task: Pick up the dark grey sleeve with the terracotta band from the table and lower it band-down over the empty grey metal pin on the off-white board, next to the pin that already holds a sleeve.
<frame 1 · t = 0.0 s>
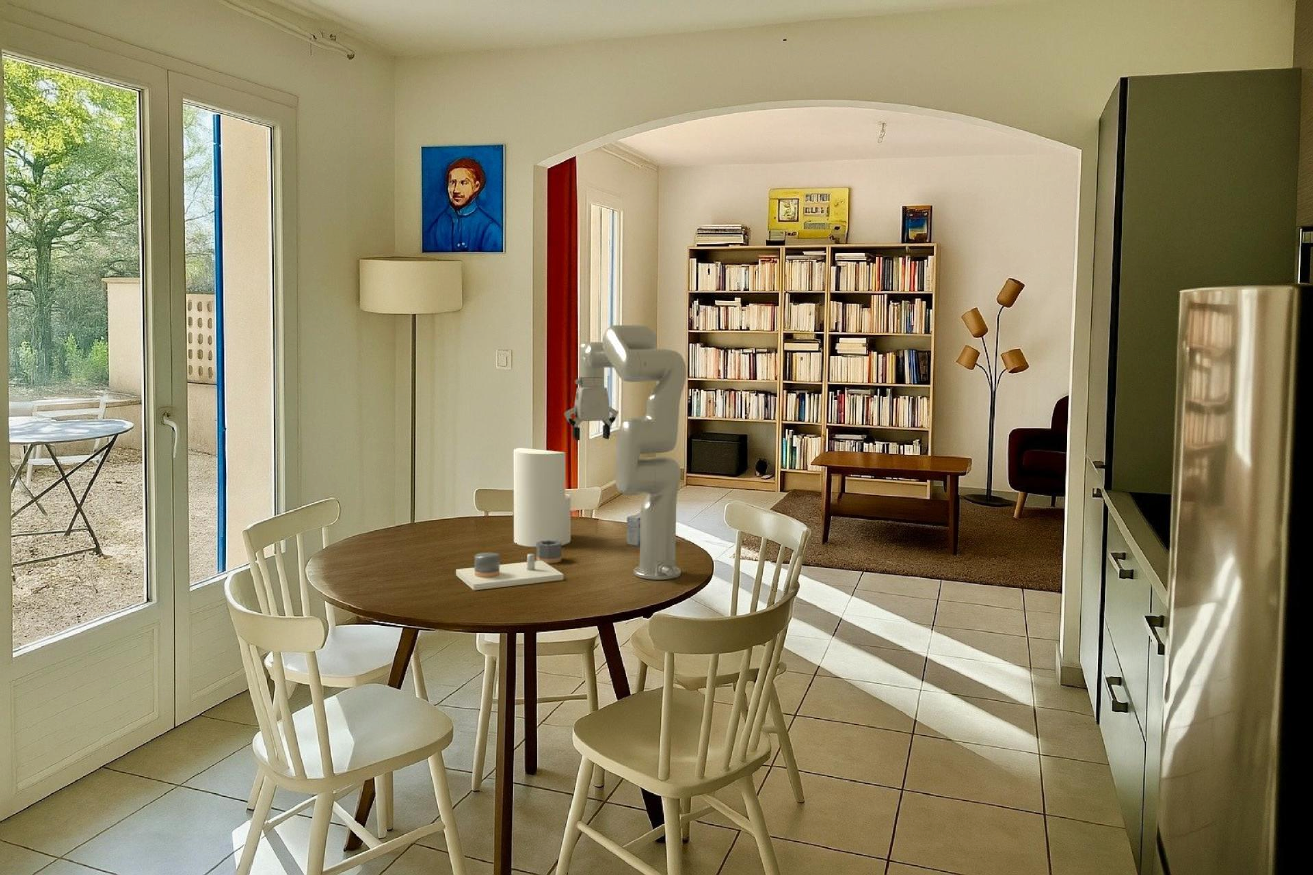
hand: (591, 439, 299), 31 cm above the table, tool pointing down, fingers open, 9 cm apart
pin board: (509, 577, 258), on the table
cylinder: (542, 541, 301), on the table
sleeve: (548, 560, 277), on the table
medicine box: (640, 543, 300), on the table
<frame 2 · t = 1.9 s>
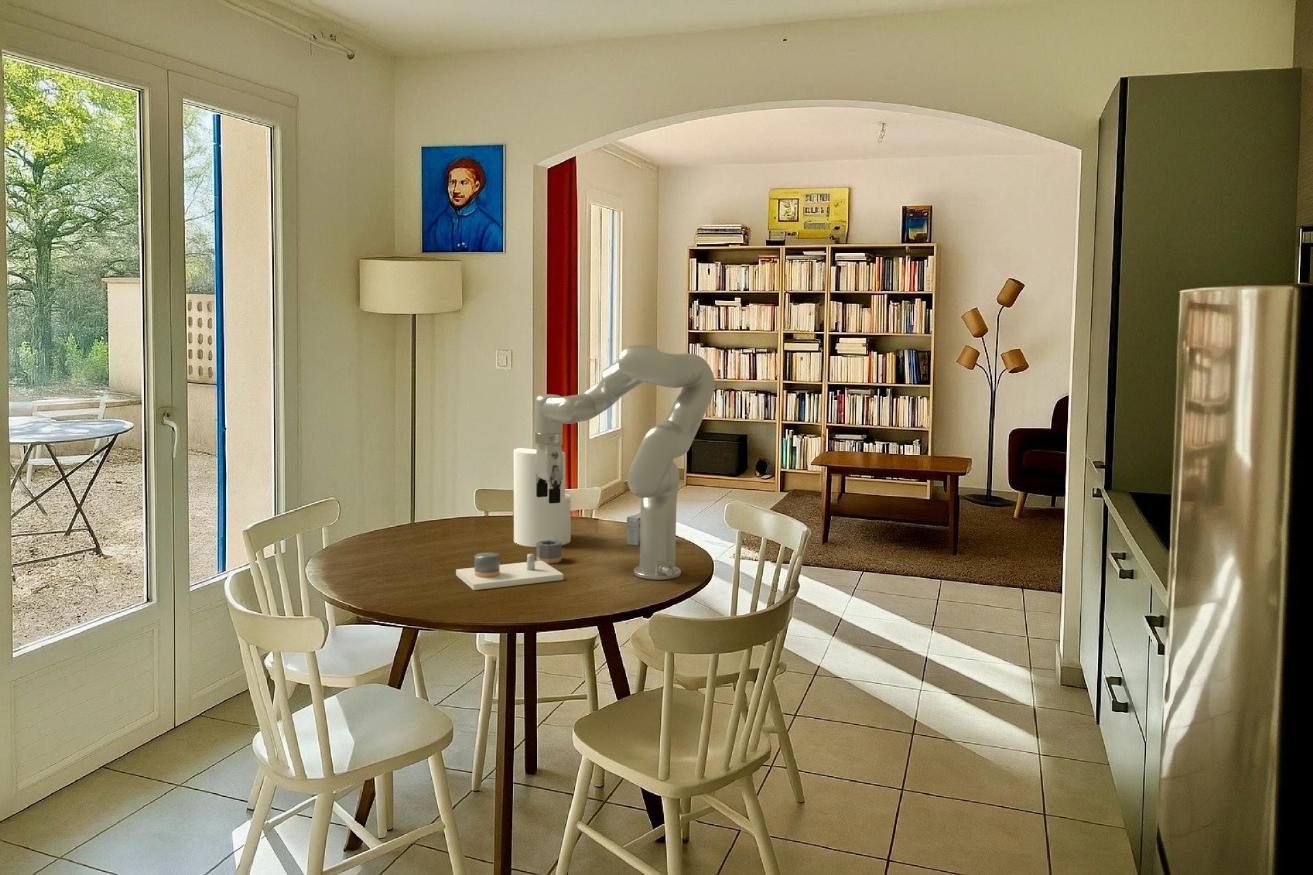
hand: (548, 499, 275), 17 cm above the table, tool pointing down, fingers open, 9 cm apart
nothing on the table moved.
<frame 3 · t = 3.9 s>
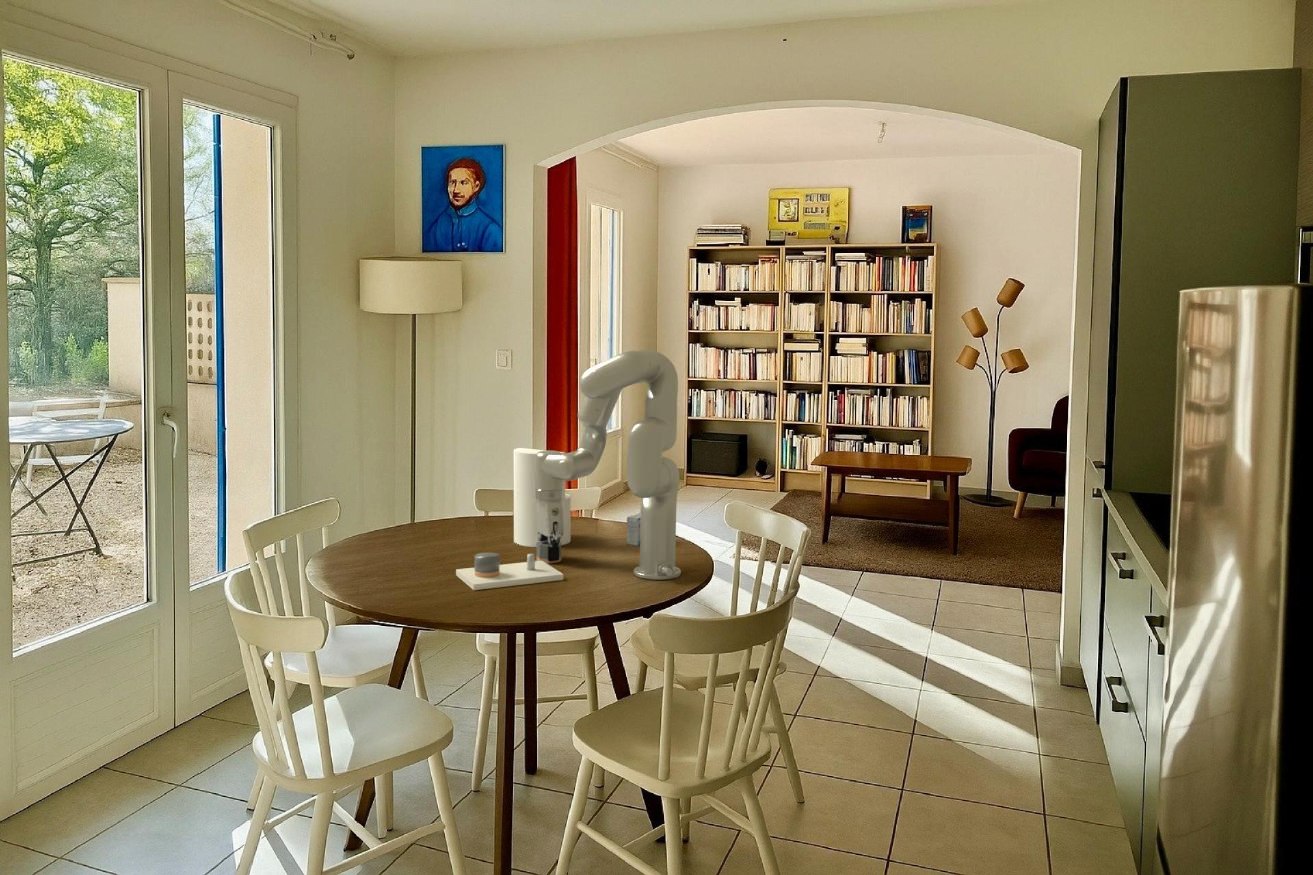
hand: (548, 557, 277), 1 cm above the table, tool pointing down, fingers closed on sleeve, 6 cm apart
sleeve: (548, 560, 277), on the table, touching gripper
everything else where it was.
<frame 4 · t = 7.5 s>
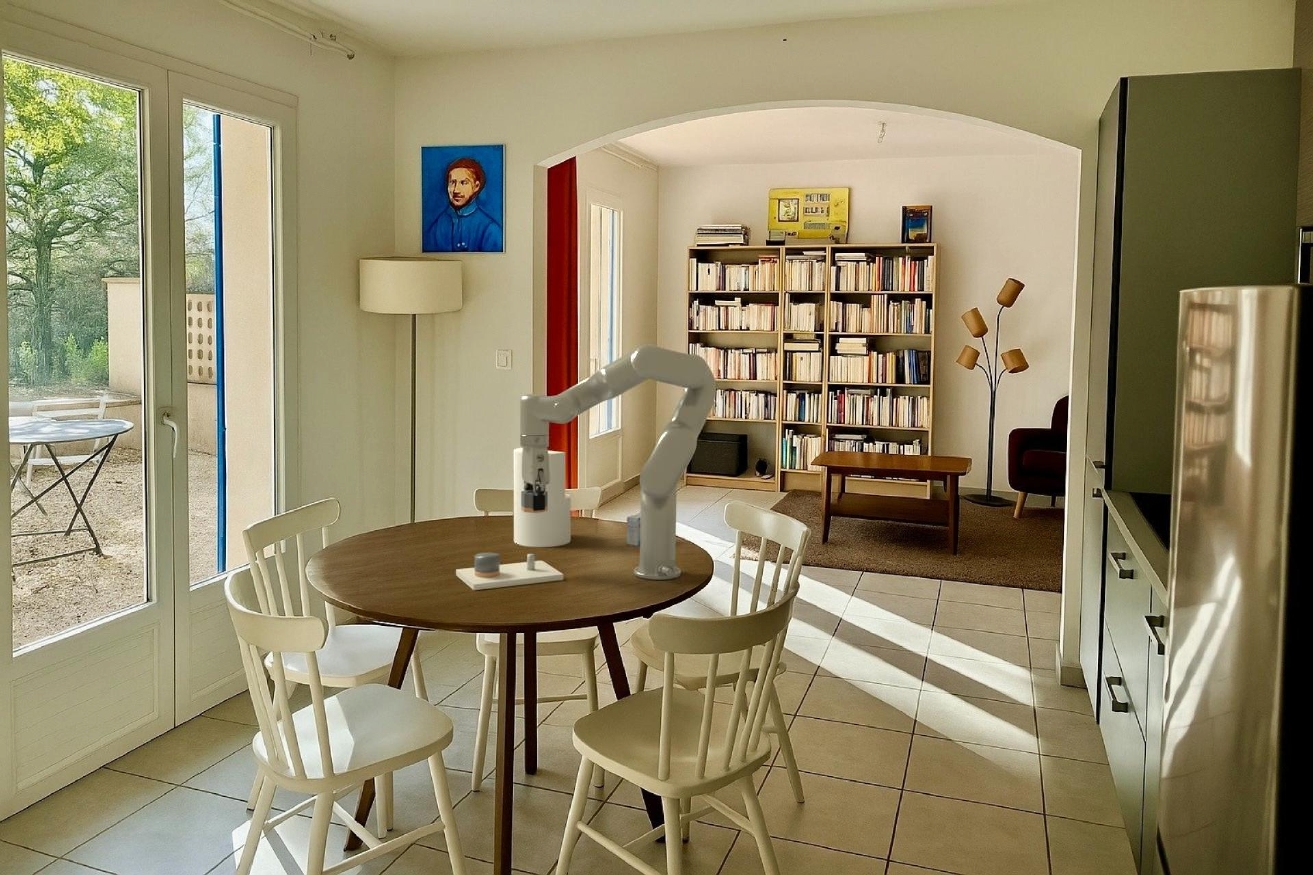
hand: (534, 507, 262), 18 cm above the table, tool pointing down, fingers closed on sleeve, 6 cm apart
sleeve: (534, 510, 262), point 17 cm above the table, touching gripper
everything else where it was.
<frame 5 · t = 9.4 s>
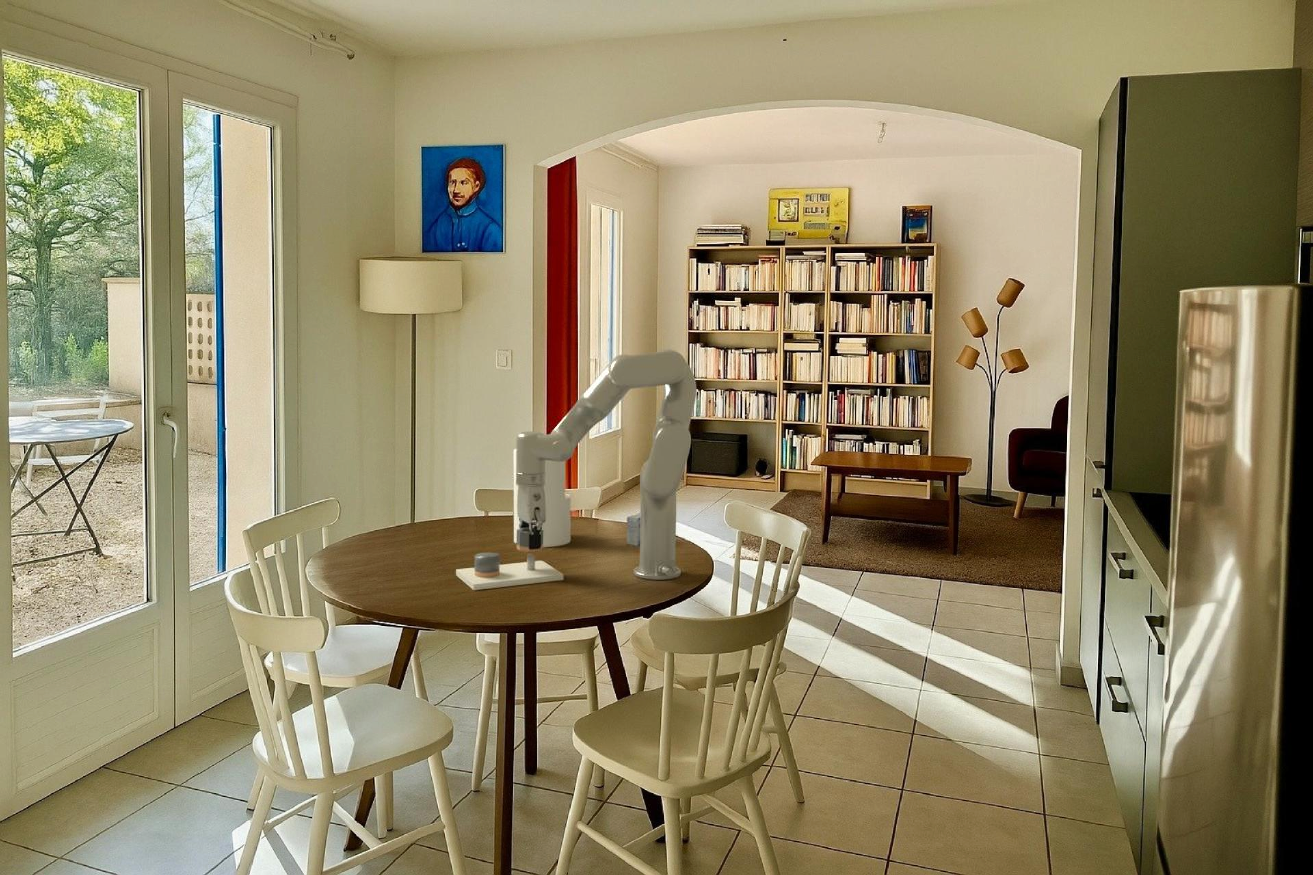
hand: (530, 545, 260), 8 cm above the table, tool pointing down, fingers closed on sleeve, 6 cm apart
sleeve: (529, 548, 260), point 7 cm above the table, touching gripper
everything else where it was.
when the fingers open (4 cm above the table, at t = 11.1 s): sleeve drops 1 cm, resting on pin board.
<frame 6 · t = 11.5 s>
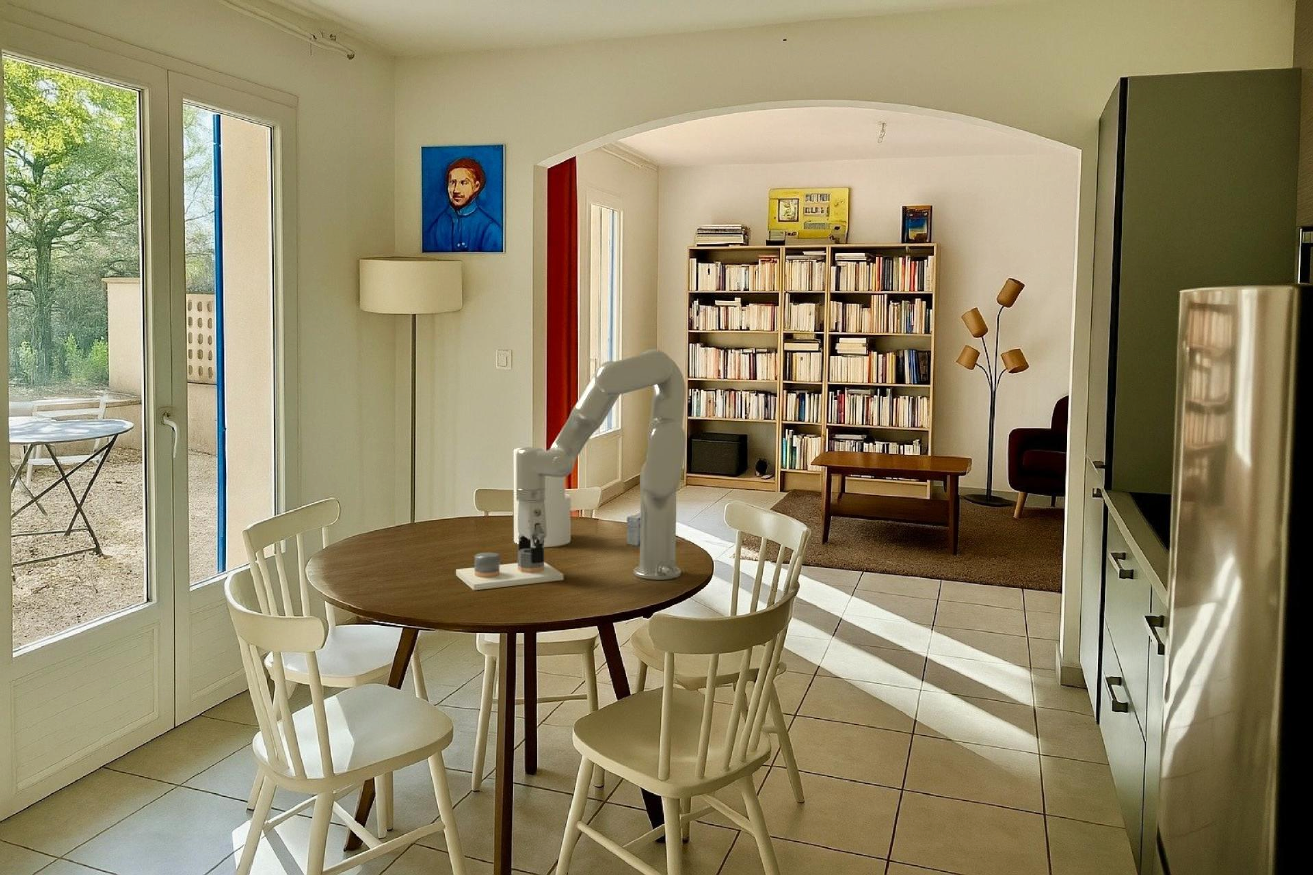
hand: (531, 558, 260), 5 cm above the table, tool pointing down, fingers open, 9 cm apart
sleeve: (531, 569, 260), point 1 cm above the table, touching pin board
everything else where it was.
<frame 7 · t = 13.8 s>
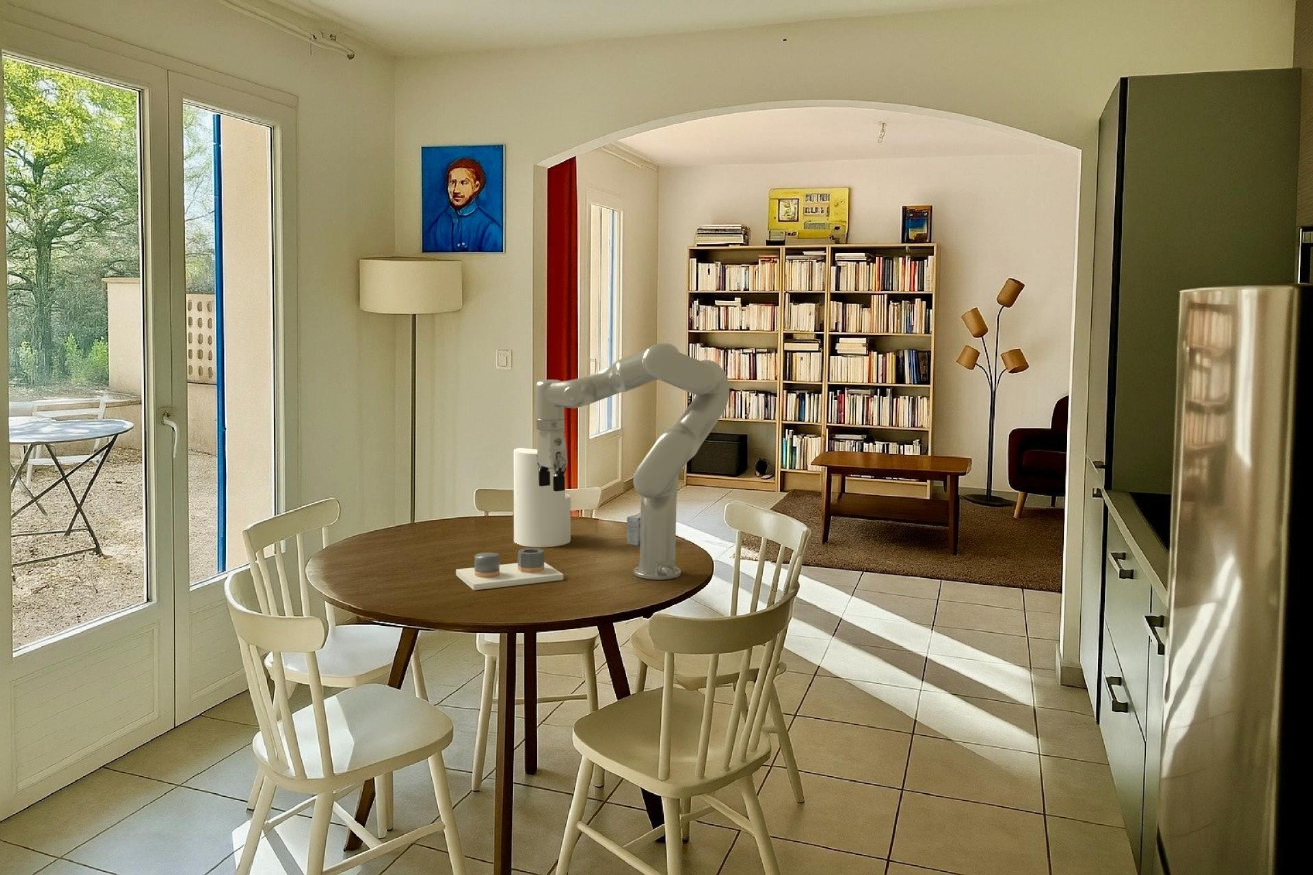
hand: (551, 488, 267), 22 cm above the table, tool pointing down, fingers open, 9 cm apart
nothing on the table moved.
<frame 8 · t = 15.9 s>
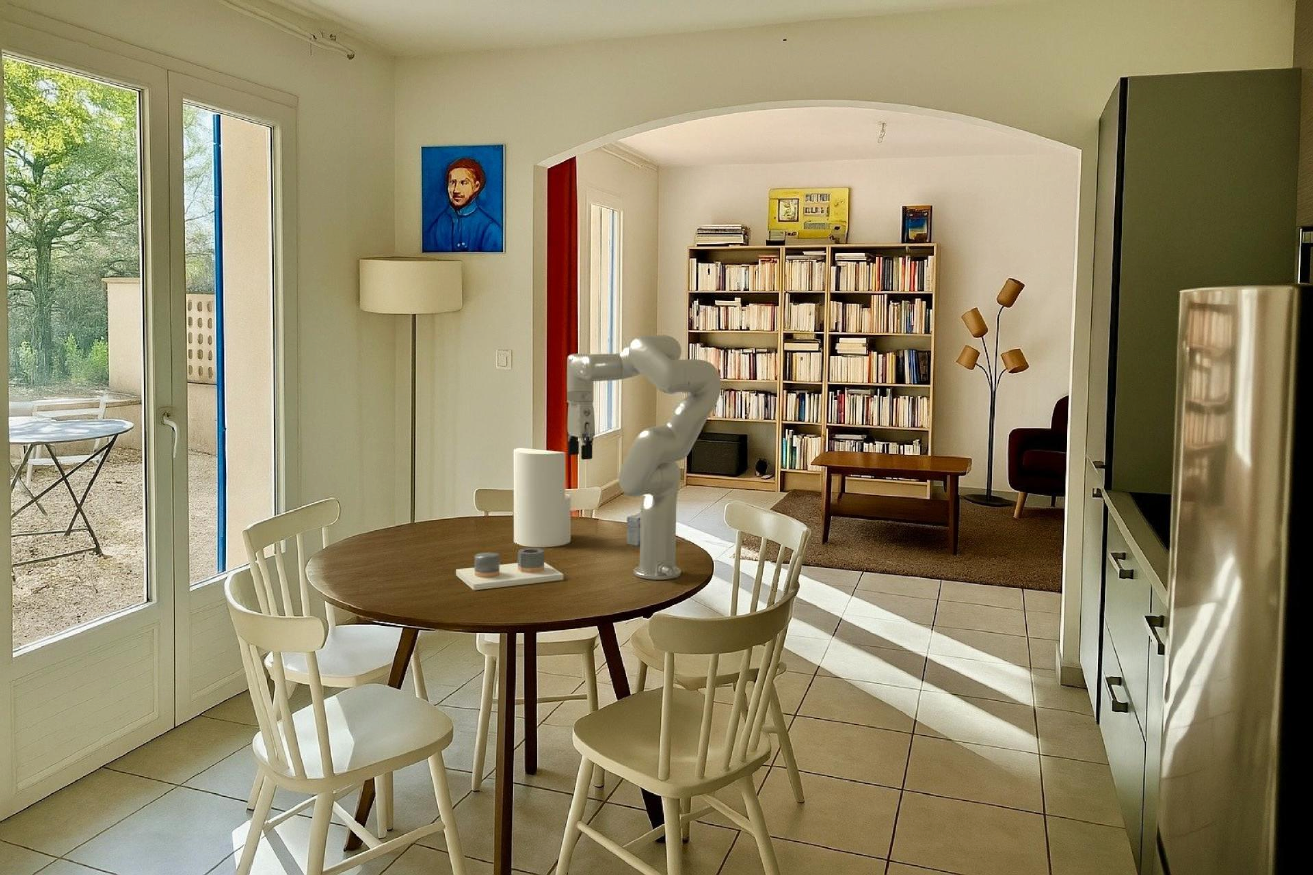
hand: (580, 456, 282), 28 cm above the table, tool pointing down, fingers open, 9 cm apart
nothing on the table moved.
at the end: sleeve 0.0 cm from the target spot on the pin board, point 1.5 cm above the pin board's base; sleeve tilted 0°; the gripper is holding nothing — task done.
